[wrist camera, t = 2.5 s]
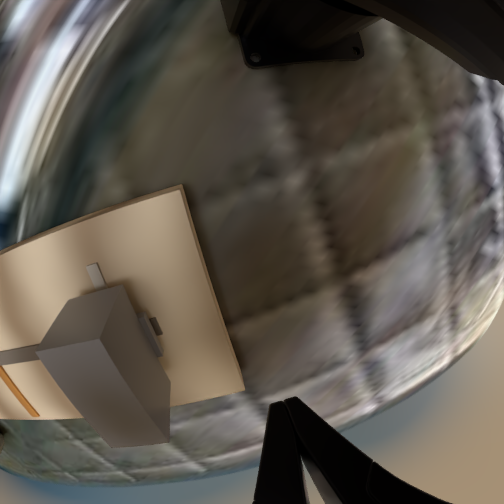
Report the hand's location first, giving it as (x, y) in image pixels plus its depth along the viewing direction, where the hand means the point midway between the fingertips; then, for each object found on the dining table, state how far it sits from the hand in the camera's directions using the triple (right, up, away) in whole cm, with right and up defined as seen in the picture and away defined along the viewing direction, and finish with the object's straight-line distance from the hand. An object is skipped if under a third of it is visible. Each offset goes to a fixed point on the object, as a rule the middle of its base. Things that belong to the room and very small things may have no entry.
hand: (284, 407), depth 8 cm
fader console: (-14, 0, +7) cm, 15 cm away
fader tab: (-7, 0, +5) cm, 9 cm away
